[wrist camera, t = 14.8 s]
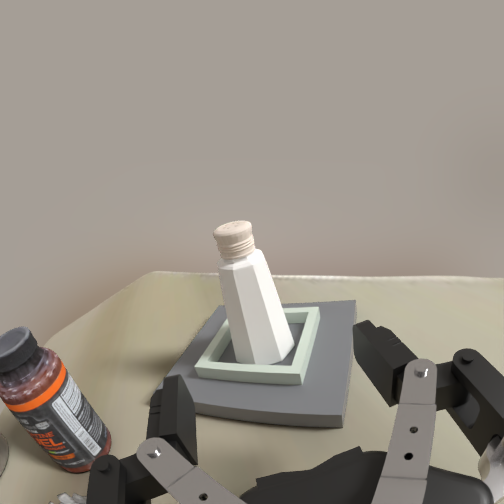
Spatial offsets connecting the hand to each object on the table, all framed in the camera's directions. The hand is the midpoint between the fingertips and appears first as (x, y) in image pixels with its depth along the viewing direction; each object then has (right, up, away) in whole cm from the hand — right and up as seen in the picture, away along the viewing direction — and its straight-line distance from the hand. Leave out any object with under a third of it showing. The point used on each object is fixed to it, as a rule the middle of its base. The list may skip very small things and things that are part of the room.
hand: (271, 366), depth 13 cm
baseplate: (+1, -4, +13) cm, 14 cm away
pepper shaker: (0, -3, +13) cm, 13 cm away
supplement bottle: (-14, -11, +6) cm, 19 cm away
